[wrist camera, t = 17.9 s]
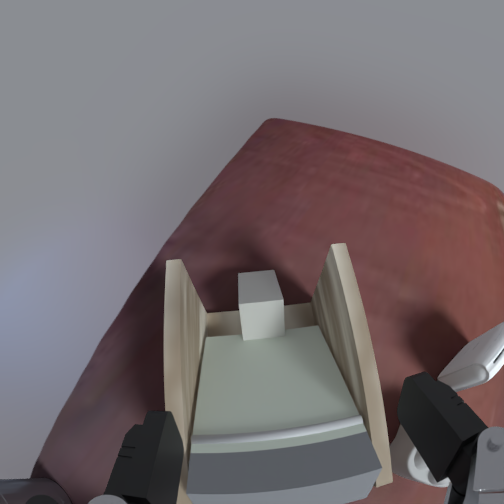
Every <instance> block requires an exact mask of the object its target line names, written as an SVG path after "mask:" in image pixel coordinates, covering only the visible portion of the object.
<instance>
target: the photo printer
mask: <svg viewBox="0 0 504 504" xmlns="http://www.w3.org/2000/svg"><path fill="white" fill-rule="evenodd" d="M503 364H504V322H502V323H500V324H499V325H497V326H496V327H494V328H492V329H491V330H489V331H487V332H486V333H484V334H482V335H481V336H479V337H477V338H476V339H474V340H472V341H470V342H469V343H468V344H466V345H465V346H464V347H463V348H462V349H461V351H460V352H459V353H458V354H457V355H456V356H455V357H454V358H453V359H452V360H451V362H450V363H449V364H448V365H447V366H446V367H445V368H444V369H443V371H442V372H441V373H440V374H439V376H438V377H437V378H438V380H439V381H441V382H443V383H445V384H447V385H449V386H450V387H451V388H452V389H453V390H454V391H455V392H458V391H461V390H464V389H467V388H471V387H474V386H477V385H480V384H483V383H485V382H487V381H488V380H490V379H491V378H492V377H493V376H494V375H495V374H496V373H497V372H498V371H499V370H500V368H501V367H502V366H503Z"/></svg>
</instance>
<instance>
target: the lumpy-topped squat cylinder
mask: <svg viewBox="0 0 504 504" xmlns="http://www.w3.org/2000/svg"><path fill="white" fill-rule="evenodd" d="M389 448H390V457H391V467H392V472H393V473H395V474H397V475H399V476H401V477H404V478H406V479H410V480H413V481H417V482H420V483H424V484H427V485H431V486H436V487H447V486H448V485H449V483H450V482H451V481H450V480H449V478H446V479H444V480H442V481H440V482H438V483H437V482H436V480H435V478H434V477H433V475H432V473H431V472H430V470H429V469H428V467H427V465H426V464H425V462H424V460H423V459H422V457H421V455H420V454H419V452H418V451H417V449H416V447H415V446H414V444H413V443H412V441H411V439H410V438H409V436H408V435H407V433H406V431H405V430H404V428H403V427H402V425H401V424H400V426H399V429H398V432H397V435H396V437H395V439H394V440H393V442H392V443H391V444H390V446H389Z"/></svg>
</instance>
